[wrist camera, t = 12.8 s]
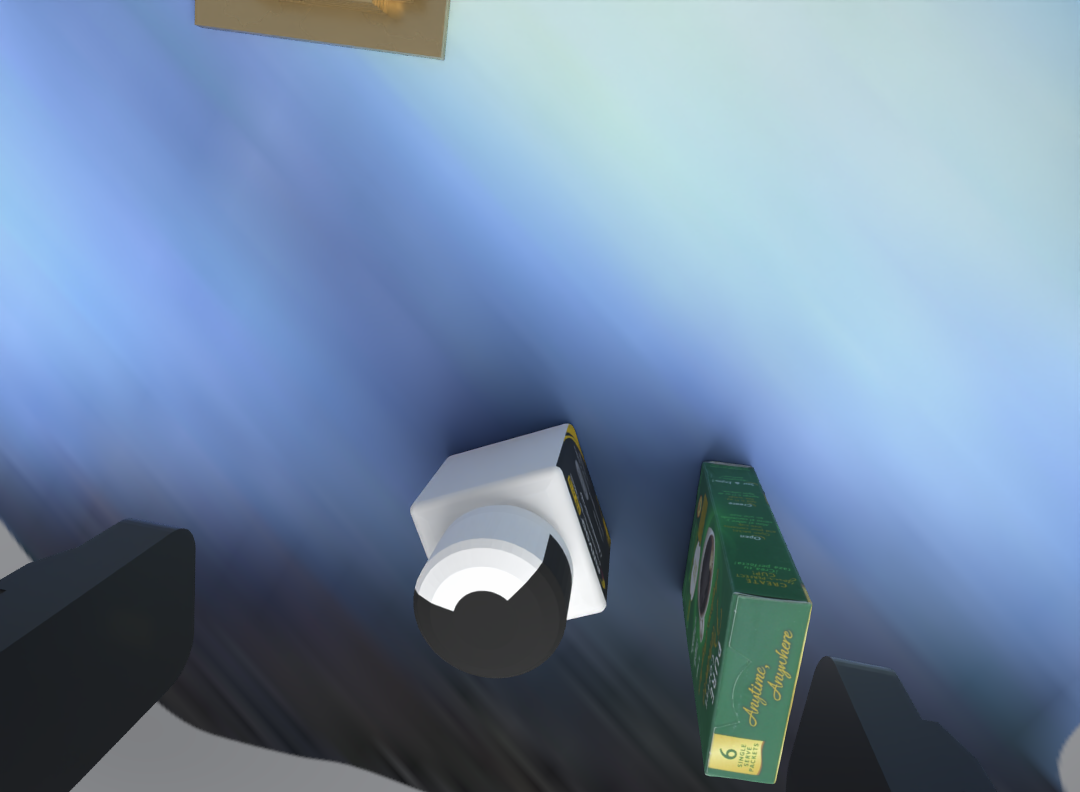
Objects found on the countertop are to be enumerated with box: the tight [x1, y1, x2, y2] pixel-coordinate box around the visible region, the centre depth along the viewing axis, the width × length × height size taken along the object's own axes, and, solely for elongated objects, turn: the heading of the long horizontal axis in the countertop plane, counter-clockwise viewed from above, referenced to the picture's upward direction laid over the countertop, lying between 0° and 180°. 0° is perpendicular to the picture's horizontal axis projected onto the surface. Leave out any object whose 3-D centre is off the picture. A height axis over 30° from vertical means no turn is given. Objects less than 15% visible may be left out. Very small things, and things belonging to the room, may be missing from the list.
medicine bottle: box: [410, 424, 611, 678], centre depth 33 cm, size 7×7×12 cm
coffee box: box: [682, 461, 812, 784], centre depth 32 cm, size 8×3×13 cm, turn 175°
